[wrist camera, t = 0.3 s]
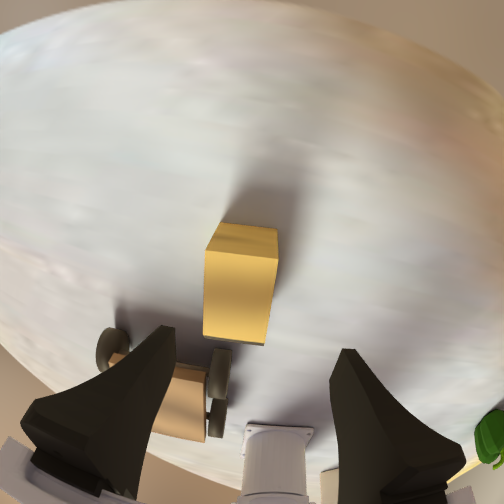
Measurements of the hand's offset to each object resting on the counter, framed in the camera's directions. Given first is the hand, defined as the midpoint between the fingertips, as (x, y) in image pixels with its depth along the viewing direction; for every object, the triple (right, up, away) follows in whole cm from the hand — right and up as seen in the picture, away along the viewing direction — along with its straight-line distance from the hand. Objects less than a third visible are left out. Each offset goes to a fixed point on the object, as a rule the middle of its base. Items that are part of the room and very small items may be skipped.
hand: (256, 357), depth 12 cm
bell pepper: (+39, -23, +19) cm, 50 cm away
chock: (-1, +4, +10) cm, 11 cm away
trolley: (-8, -8, +15) cm, 19 cm away
